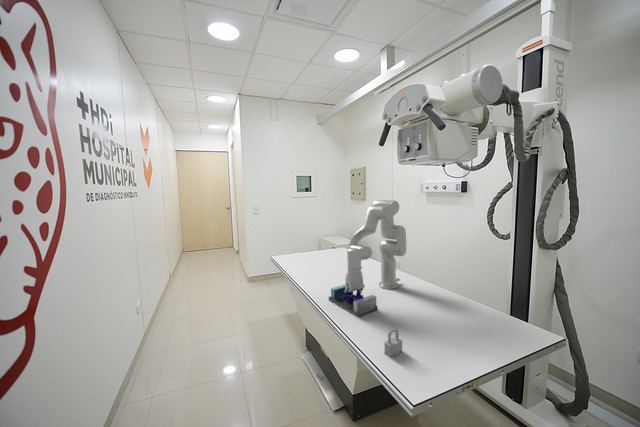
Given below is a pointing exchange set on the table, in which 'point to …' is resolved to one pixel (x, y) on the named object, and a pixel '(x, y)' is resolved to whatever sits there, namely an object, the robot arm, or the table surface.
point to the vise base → (357, 305)
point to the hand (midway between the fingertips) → (354, 300)
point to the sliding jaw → (338, 292)
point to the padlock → (393, 344)
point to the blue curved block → (354, 299)
